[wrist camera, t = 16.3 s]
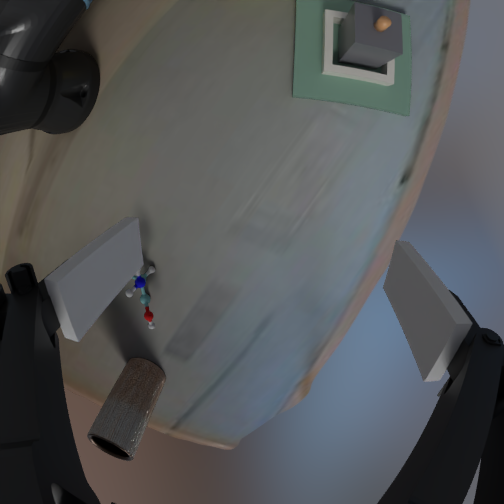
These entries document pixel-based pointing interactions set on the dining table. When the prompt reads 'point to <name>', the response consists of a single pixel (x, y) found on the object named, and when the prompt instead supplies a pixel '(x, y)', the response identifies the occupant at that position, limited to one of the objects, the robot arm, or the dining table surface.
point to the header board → (345, 75)
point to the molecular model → (143, 293)
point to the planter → (128, 409)
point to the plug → (370, 36)
